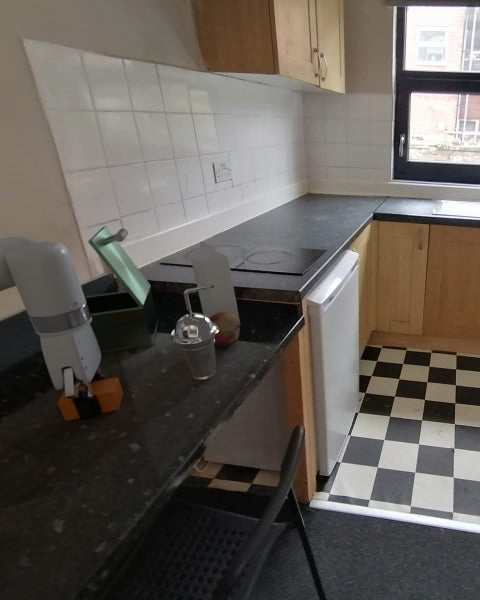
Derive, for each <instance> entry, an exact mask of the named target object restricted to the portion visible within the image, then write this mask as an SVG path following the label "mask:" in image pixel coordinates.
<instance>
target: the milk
mask: <svg viewBox="0 0 480 600" xmlns="http://www.w3.org/2000/svg"><path fill="white" fill-rule="evenodd" d="M199 246H200V248H199V249H197V251H195V253H193V254H192V255H191V256H190V260H191V265H192V270H193V274H194V279H195V283H196V288H197V287H202V286H207V285H213V287H214V288H211V289H206V290H201V291H197V292H198V297H199V301H200V305H201V311H202V314H204V315H205V316H207V317H208V318H210V317H211V316H213V315H215V314H217V313H221V312H228V313H230V314H233V315H235V316H236V317H237V318H238V320H239V326H241V321H240V315H239V309H238V304H237V298H236V293H235V288H234V283H233V277H232V270H231V265H230V260H229V255H228V254H225V253H221V252H219V251H216V248H215V245H214V244H211V243H207V242H204V241H199Z"/></svg>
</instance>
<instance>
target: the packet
mask: <svg viewBox="0 0 480 600" xmlns="http://www.w3.org/2000/svg"><path fill="white" fill-rule="evenodd" d="M90 384H91V388H92V392H93V395H96V396H97V399H98V402H99V404H100V407H101V410H102V413H101V414H105V413H109V412H115V411H118V410H120V406H121V403H122V400H123V398H124V394H125V393H124V391H123V388H122V385H121V382H120V378H119V377H118V376H115V377H111V378H107V379H105V378H104V380H100V381H95V382H90ZM77 389H78V390H84V391H86V390H85V386H80V387H77ZM57 404H58V407H59V409H60V411H61V415H62V416H63V419H64V421H65V422H67V421H72V420H78V419H81V418H80V417H79V414H78V412H77V410H76V407H75V405H74V402H72V400H71V399H68V398H66V396H65V390H64V391H63V392H62V395H61V396H60V398H59V400H58V401H57Z"/></svg>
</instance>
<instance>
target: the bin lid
mask: <svg viewBox="0 0 480 600" xmlns="http://www.w3.org/2000/svg"><path fill="white" fill-rule="evenodd" d="M128 235H129V231H128V230H127V228H120V229H119V230H118V231H117V232H116V233H114V234H113V233H112V232H111V231H110V229H109V228H108V226H106V225H105V226H103V227H101V228H100V229H99V230H98V232H96V233H95V234H94V235H93V236H92V237H91V238H90V239H89V240H88V241H87V243H88V244H89V245H90V246H91V247H92V249H93V250H94V251H95V252H96V254H97V255H98V257H99V258H100V259H101V260H102V261H103V262H104V264H105V265H106V266H107V267H108V269H109V270H110V272H111V273H112V274H113V275H114V277H115V278H116V279H117V280H118V281H119V283H120V284H121V285H122V287H123V288H124V289H125V291H128V293H129V294H130V295H131V296H132V298H133V299H134V300H135V301H136V303H137V304H138V305H139V306H140V307H141V306H143V305H144V302H145V299H146V297H147V294H148V292H149V289H150V290H151V287H152V286H151V284H150V282H149V281H148V280H147V278H146V277H145V276H144V274H143V273H142V272H141V271H140V269H139V267H137V265H136V264H135V262H134V261H133V260H132V259H131V257H130V256H129V254H128V253H127V252H126V250H125V249H124V248H123V247H122V245H121V244H120V243H122V242H124V241H125V239H126V238H127V236H128Z"/></svg>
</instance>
